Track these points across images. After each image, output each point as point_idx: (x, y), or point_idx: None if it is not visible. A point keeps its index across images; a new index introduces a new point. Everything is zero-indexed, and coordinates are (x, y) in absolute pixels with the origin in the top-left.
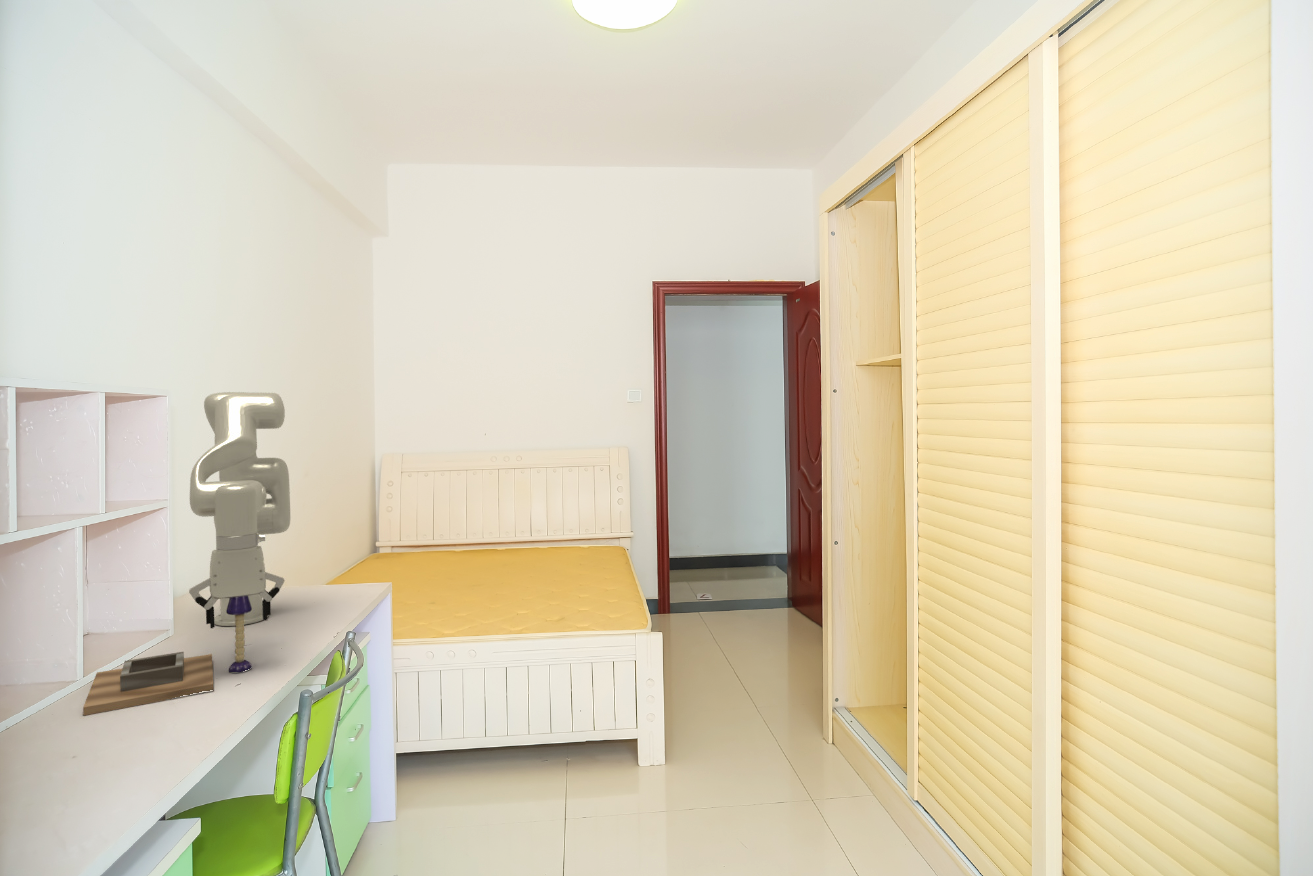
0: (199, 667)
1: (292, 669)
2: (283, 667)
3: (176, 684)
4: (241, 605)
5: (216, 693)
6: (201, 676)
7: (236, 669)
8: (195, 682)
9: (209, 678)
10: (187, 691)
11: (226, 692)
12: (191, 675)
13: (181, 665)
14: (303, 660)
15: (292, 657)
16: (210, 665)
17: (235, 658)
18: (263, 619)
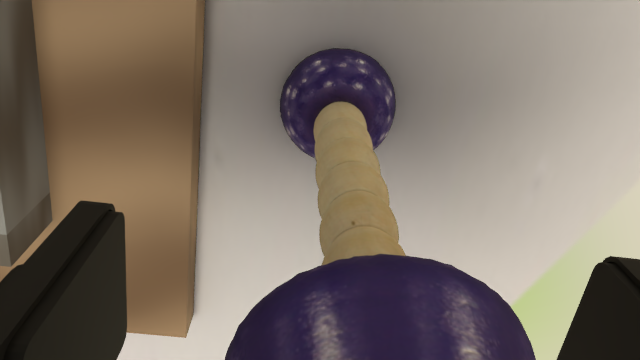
0: (122, 49)
1: (533, 260)
2: (515, 209)
3: (28, 250)
4: None
5: (203, 338)
6: (136, 214)
7: (311, 155)
8: None
9: (172, 264)
10: None
11: None
12: (87, 164)
13: (3, 255)
14: (632, 170)
15: (620, 80)
16: (183, 51)
17: (314, 135)
18: (561, 358)
